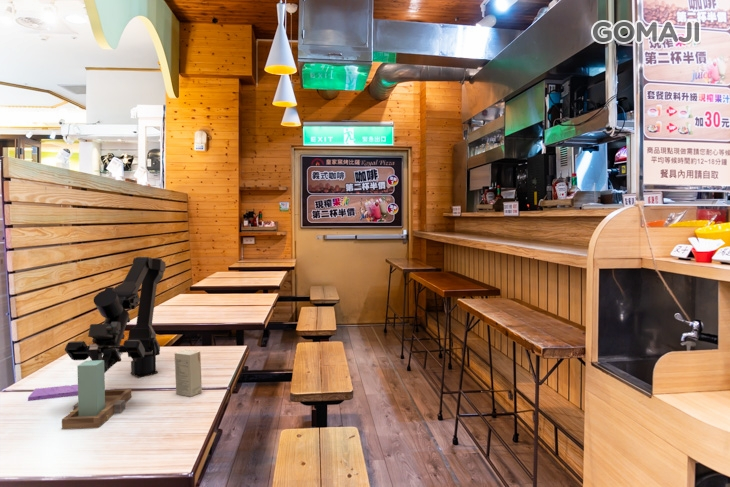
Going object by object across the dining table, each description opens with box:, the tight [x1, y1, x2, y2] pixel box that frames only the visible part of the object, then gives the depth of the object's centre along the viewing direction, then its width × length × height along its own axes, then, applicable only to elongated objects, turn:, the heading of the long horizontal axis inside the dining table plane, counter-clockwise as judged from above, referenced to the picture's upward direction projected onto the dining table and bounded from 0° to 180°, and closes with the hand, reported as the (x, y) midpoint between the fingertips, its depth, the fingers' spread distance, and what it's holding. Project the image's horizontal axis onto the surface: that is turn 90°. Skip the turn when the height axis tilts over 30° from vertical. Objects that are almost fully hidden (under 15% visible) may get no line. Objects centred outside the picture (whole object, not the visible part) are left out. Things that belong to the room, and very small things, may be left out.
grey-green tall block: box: [77, 360, 106, 417], centre depth 117 cm, size 4×4×13 cm
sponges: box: [27, 384, 78, 402], centre depth 135 cm, size 7×13×2 cm, turn 111°
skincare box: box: [174, 349, 203, 397], centre depth 135 cm, size 6×4×12 cm
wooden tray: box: [61, 388, 133, 430], centre depth 122 cm, size 20×12×3 cm, turn 6°
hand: (96, 378), depth 120 cm, fingers closed, pressing on grey-green tall block
